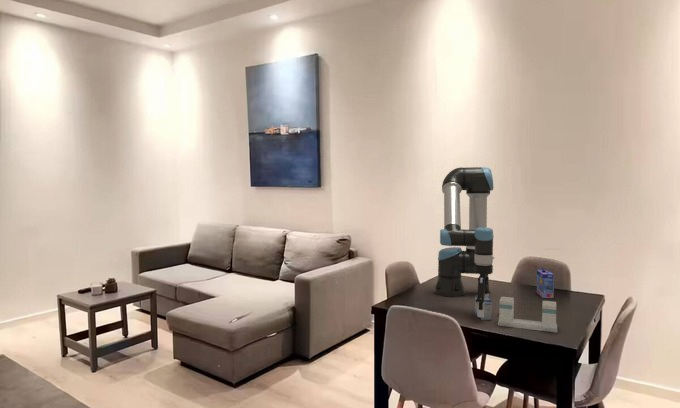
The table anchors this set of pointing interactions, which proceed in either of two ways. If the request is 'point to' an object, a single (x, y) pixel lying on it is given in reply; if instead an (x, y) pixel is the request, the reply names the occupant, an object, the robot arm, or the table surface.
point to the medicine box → (486, 308)
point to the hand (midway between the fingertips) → (482, 312)
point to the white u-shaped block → (508, 320)
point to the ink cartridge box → (545, 283)
